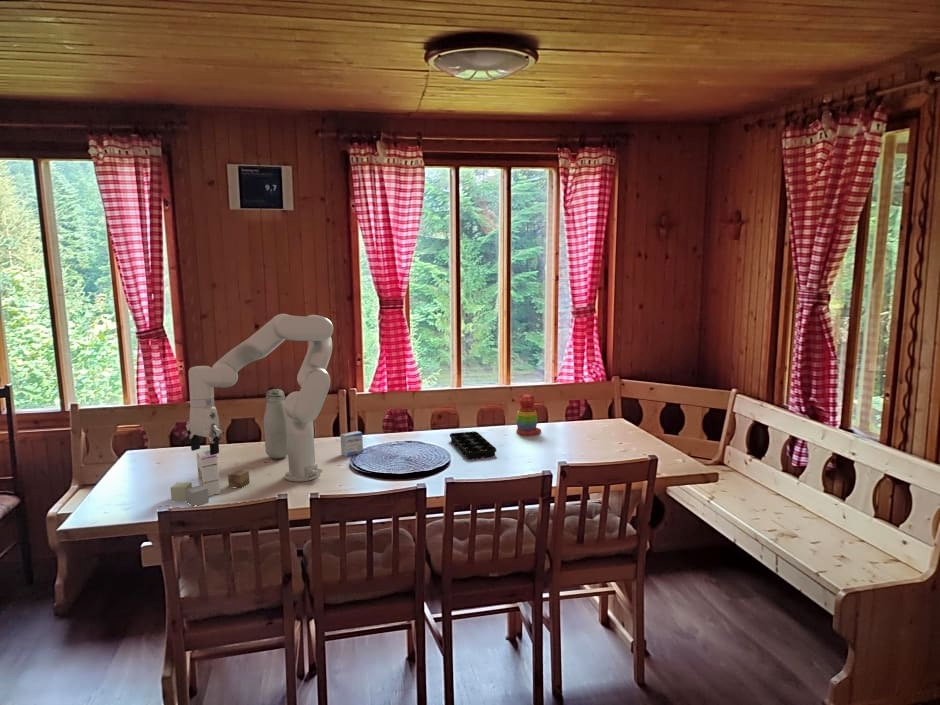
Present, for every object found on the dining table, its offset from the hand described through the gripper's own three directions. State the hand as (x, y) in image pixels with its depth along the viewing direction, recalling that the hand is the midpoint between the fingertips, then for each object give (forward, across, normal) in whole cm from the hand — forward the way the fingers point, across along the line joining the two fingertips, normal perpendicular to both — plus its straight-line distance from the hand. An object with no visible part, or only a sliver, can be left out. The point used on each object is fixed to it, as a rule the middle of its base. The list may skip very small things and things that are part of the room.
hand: (205, 451), depth 228 cm
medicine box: (+14, -14, -59) cm, 62 cm away
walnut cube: (+15, -3, -11) cm, 18 cm away
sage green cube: (+15, +4, +7) cm, 17 cm away
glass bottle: (+14, +9, -41) cm, 44 cm away
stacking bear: (+12, -64, -119) cm, 136 cm away
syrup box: (+15, 0, -1) cm, 15 cm away
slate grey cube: (+15, -4, +7) cm, 17 cm away
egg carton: (+13, -54, -88) cm, 104 cm away
